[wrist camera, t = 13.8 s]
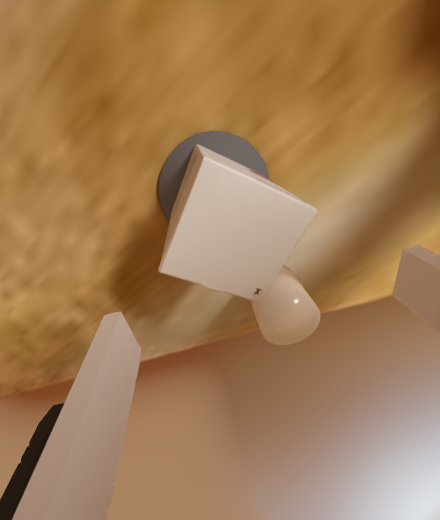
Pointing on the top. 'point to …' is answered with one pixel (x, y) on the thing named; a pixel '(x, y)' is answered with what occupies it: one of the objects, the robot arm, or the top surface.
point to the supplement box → (231, 227)
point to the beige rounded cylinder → (286, 311)
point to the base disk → (213, 141)
